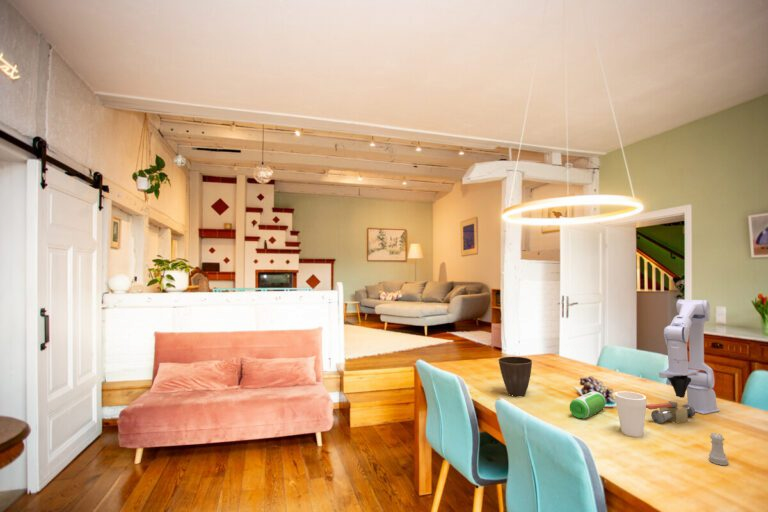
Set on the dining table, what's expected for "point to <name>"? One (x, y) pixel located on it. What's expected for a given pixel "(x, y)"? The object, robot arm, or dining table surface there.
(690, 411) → the valve body
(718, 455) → the rook chess piece
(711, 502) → the dining table surface
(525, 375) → the plant pot
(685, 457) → the dining table surface
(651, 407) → the lever
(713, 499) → the dining table surface
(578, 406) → the speaker
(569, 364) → the dining table surface
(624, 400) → the foam cup
